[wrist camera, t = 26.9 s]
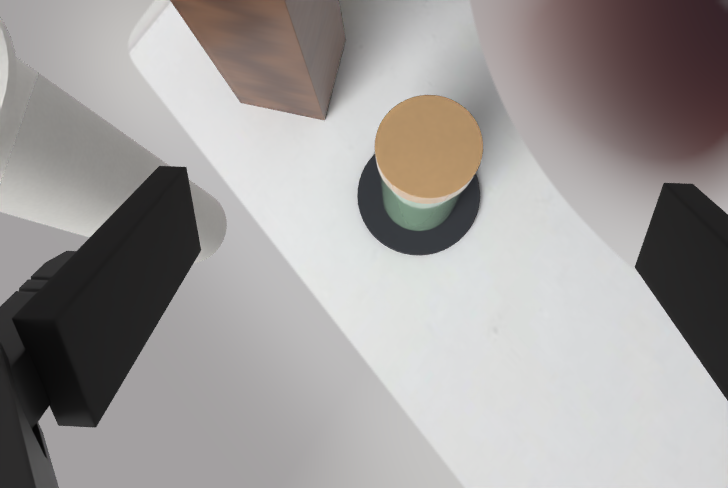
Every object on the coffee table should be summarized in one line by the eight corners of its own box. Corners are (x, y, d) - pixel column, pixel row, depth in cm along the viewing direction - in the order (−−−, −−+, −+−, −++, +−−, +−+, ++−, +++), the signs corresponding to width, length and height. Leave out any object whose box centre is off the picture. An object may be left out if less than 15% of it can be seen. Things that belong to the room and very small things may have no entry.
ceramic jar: (371, 224, 43) (363, 185, 31) (389, 150, 44) (388, 85, 32) (449, 241, 42) (470, 208, 30) (465, 166, 43) (493, 106, 31)
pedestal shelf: (240, 102, 45) (123, -68, 26) (263, 23, 46) (167, -199, 27) (324, 120, 45) (270, -41, 25) (345, 39, 46) (310, -176, 26)
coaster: (345, 240, 43) (344, 239, 43) (373, 127, 44) (373, 124, 44) (465, 267, 42) (466, 267, 42) (490, 151, 44) (491, 149, 43)
